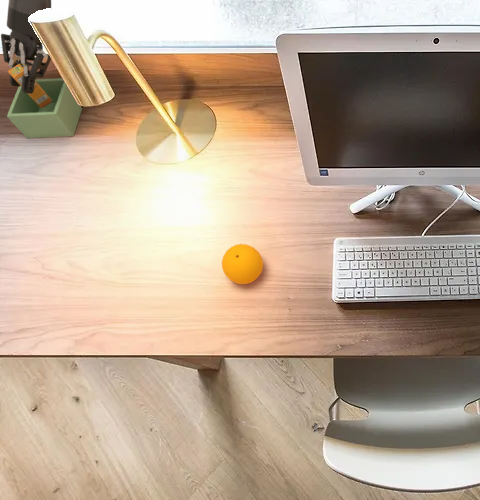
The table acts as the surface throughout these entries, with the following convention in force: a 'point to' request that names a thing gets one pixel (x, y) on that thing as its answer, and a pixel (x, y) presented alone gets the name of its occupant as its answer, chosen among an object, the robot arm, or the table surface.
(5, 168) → the table surface
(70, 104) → the bin
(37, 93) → the supplement box
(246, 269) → the orange fruit
